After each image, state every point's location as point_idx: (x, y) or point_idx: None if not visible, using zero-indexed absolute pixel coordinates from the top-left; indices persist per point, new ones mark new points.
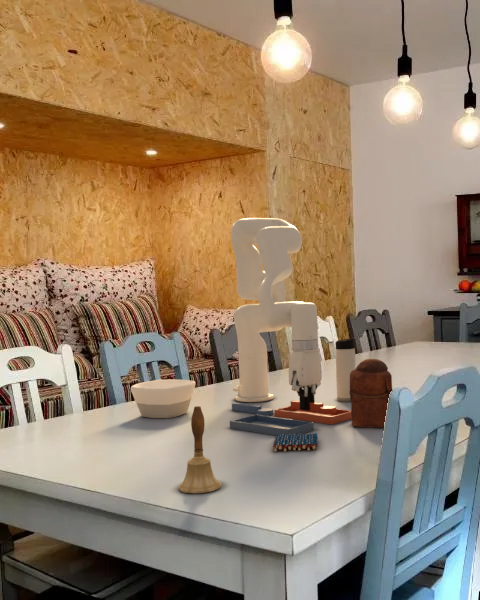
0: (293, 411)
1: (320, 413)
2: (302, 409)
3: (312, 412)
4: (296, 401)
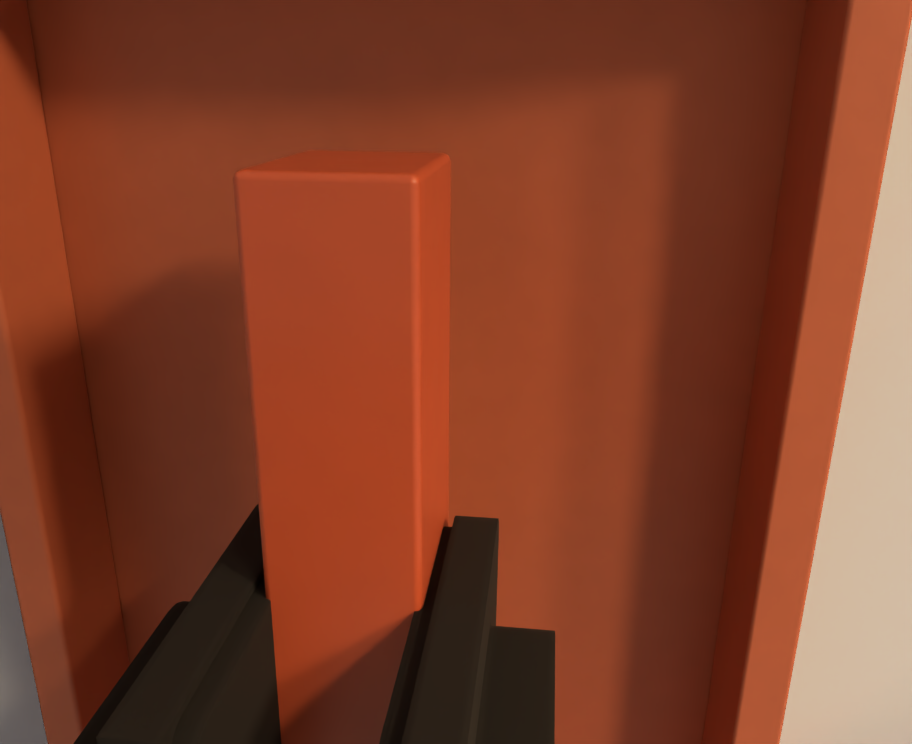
0: (535, 42)
1: (627, 681)
2: None
3: (642, 505)
4: (312, 372)
